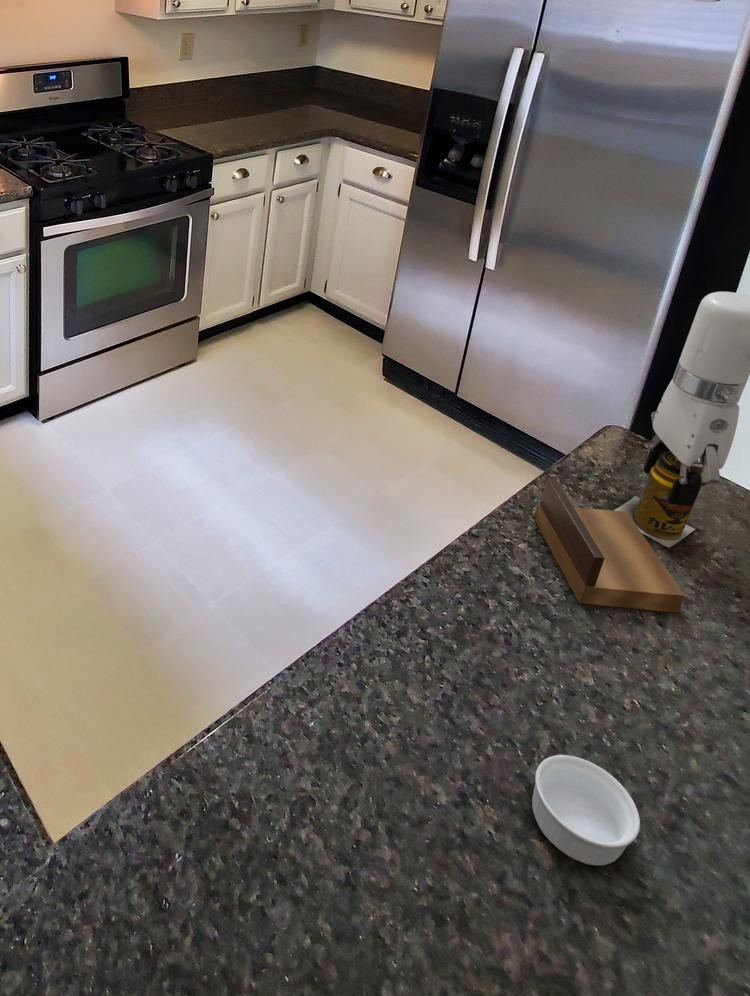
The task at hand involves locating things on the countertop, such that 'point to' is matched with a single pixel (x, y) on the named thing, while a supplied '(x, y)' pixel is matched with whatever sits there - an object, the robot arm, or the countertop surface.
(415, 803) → the countertop surface
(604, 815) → the ramekin
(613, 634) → the countertop surface
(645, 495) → the condiment
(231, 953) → the countertop surface
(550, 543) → the shelf
